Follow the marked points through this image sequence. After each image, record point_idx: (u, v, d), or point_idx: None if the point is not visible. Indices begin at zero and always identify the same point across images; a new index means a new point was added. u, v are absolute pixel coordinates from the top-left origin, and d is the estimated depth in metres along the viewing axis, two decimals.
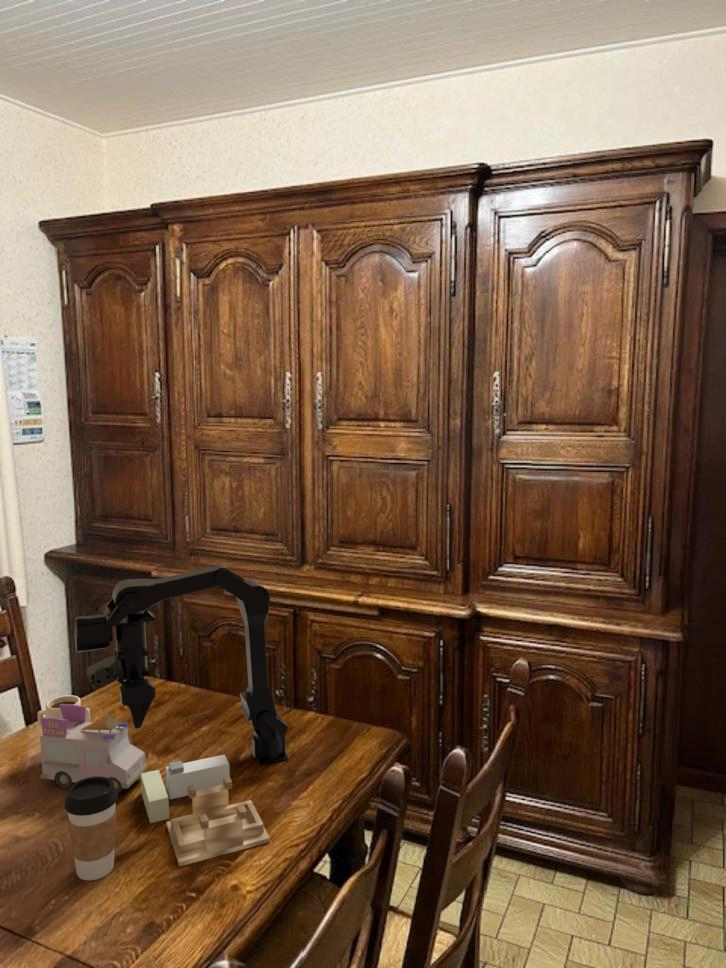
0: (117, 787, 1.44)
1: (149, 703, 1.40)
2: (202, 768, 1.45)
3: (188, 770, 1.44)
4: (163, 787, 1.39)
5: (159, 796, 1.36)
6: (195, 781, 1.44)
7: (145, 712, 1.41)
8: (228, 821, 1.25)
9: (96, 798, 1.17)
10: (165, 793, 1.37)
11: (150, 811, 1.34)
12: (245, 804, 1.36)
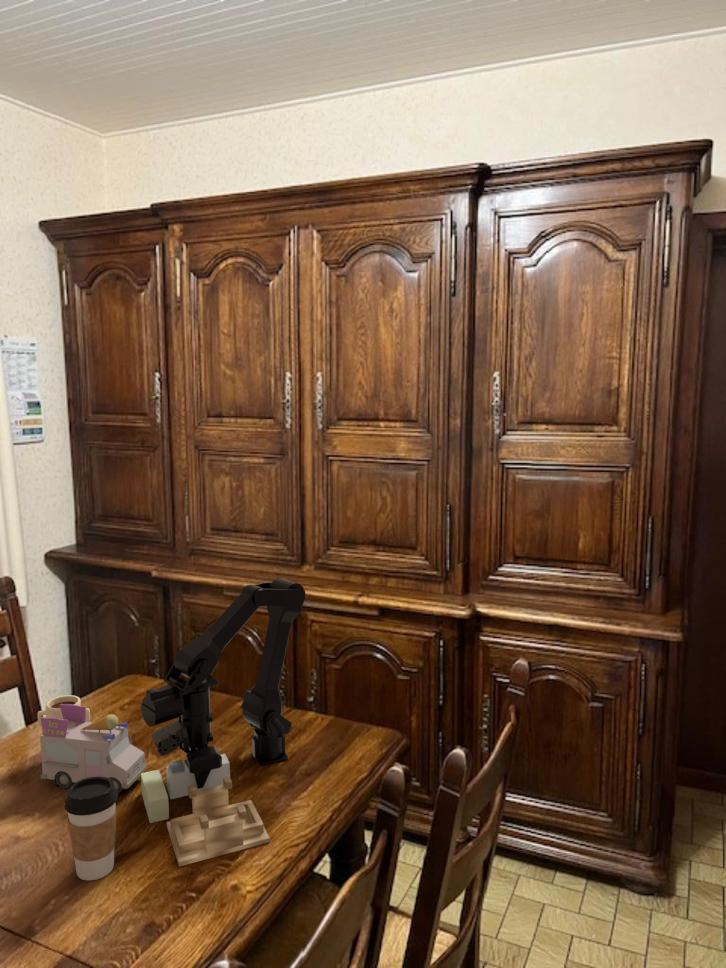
0: (117, 787, 1.44)
1: None
2: None
3: (188, 769, 1.44)
4: (163, 787, 1.39)
5: (159, 796, 1.36)
6: (195, 780, 1.44)
7: (208, 773, 1.44)
8: (228, 821, 1.25)
9: (96, 798, 1.17)
10: (165, 793, 1.37)
11: (150, 811, 1.34)
12: (245, 804, 1.36)
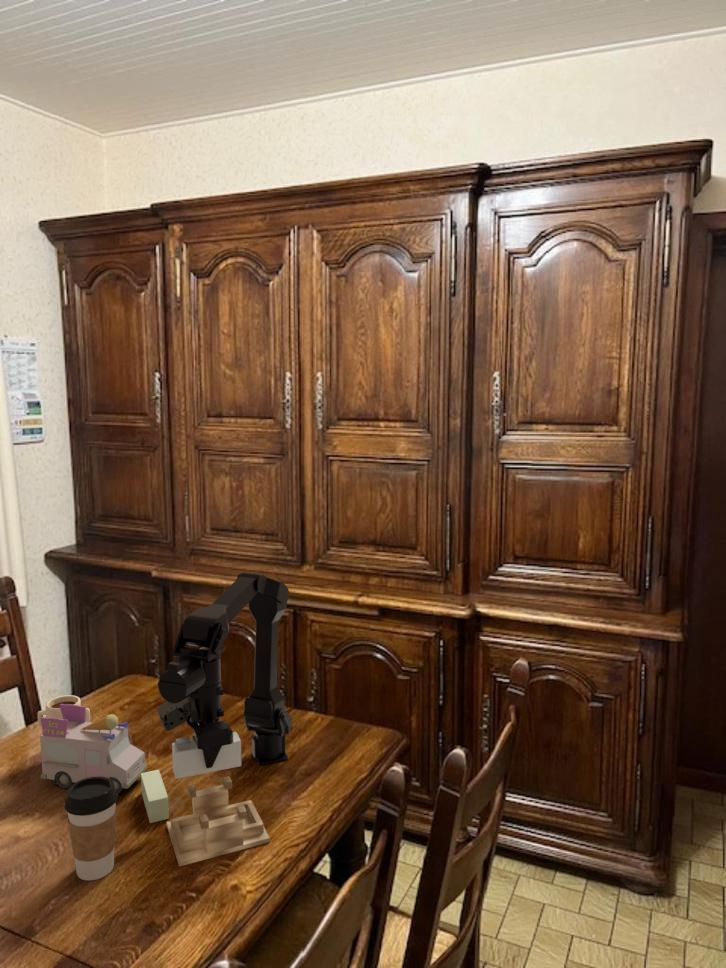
0: (117, 787, 1.44)
1: None
2: None
3: (196, 746, 1.32)
4: (163, 787, 1.39)
5: (159, 796, 1.36)
6: (203, 759, 1.32)
7: (217, 751, 1.31)
8: (228, 821, 1.25)
9: (96, 798, 1.16)
10: (165, 793, 1.37)
11: (150, 811, 1.34)
12: (245, 804, 1.36)
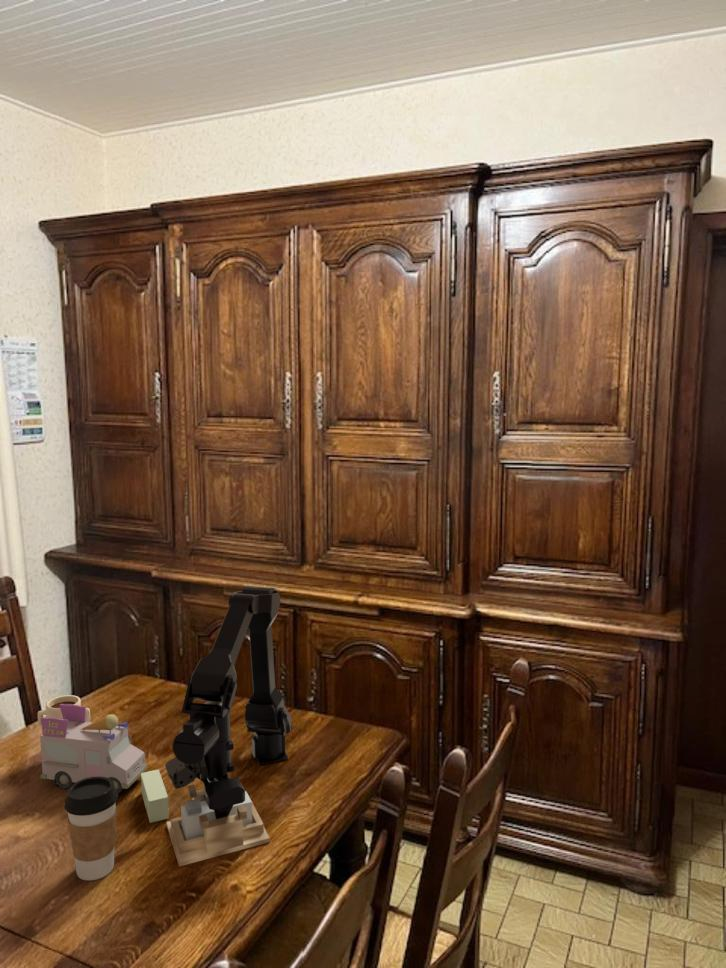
0: (117, 787, 1.44)
1: None
2: None
3: (206, 810, 1.29)
4: (163, 787, 1.39)
5: (159, 796, 1.36)
6: None
7: (229, 809, 1.27)
8: (228, 821, 1.25)
9: (96, 798, 1.16)
10: (165, 793, 1.37)
11: (150, 811, 1.34)
12: None
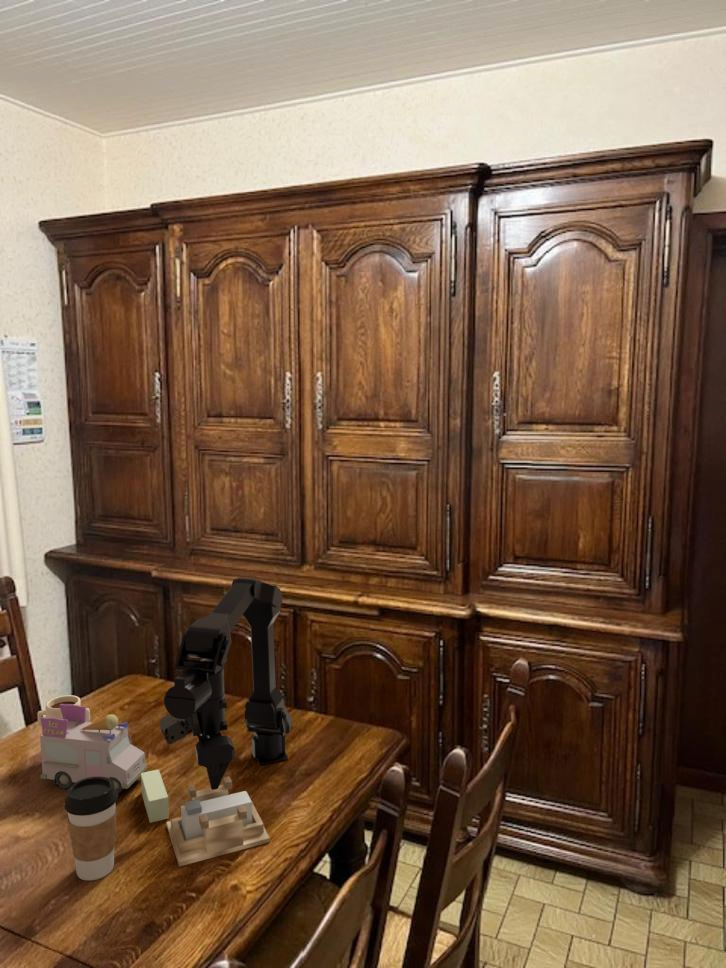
0: (117, 787, 1.44)
1: (227, 763, 1.24)
2: (222, 807, 1.29)
3: (206, 810, 1.29)
4: (163, 787, 1.39)
5: (159, 795, 1.36)
6: None
7: (223, 773, 1.25)
8: (228, 821, 1.25)
9: (96, 798, 1.16)
10: (165, 793, 1.37)
11: (150, 811, 1.34)
12: None
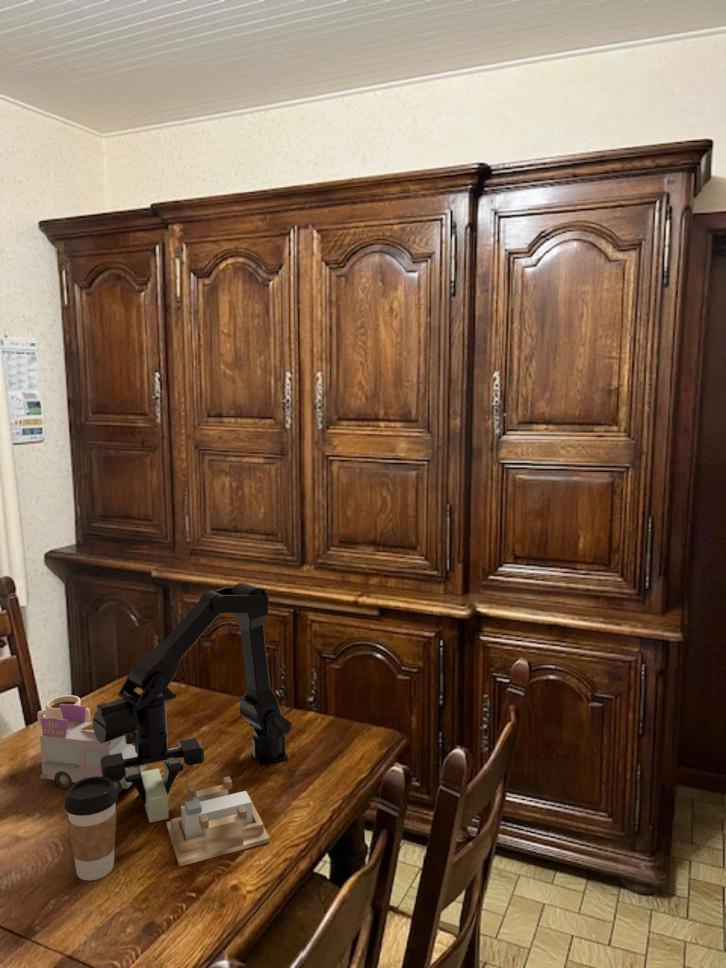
0: (117, 787, 1.44)
1: None
2: (222, 807, 1.29)
3: (206, 810, 1.29)
4: (163, 786, 1.39)
5: (159, 794, 1.36)
6: None
7: (139, 792, 1.37)
8: (228, 821, 1.25)
9: (96, 798, 1.17)
10: (164, 792, 1.37)
11: (149, 810, 1.34)
12: None
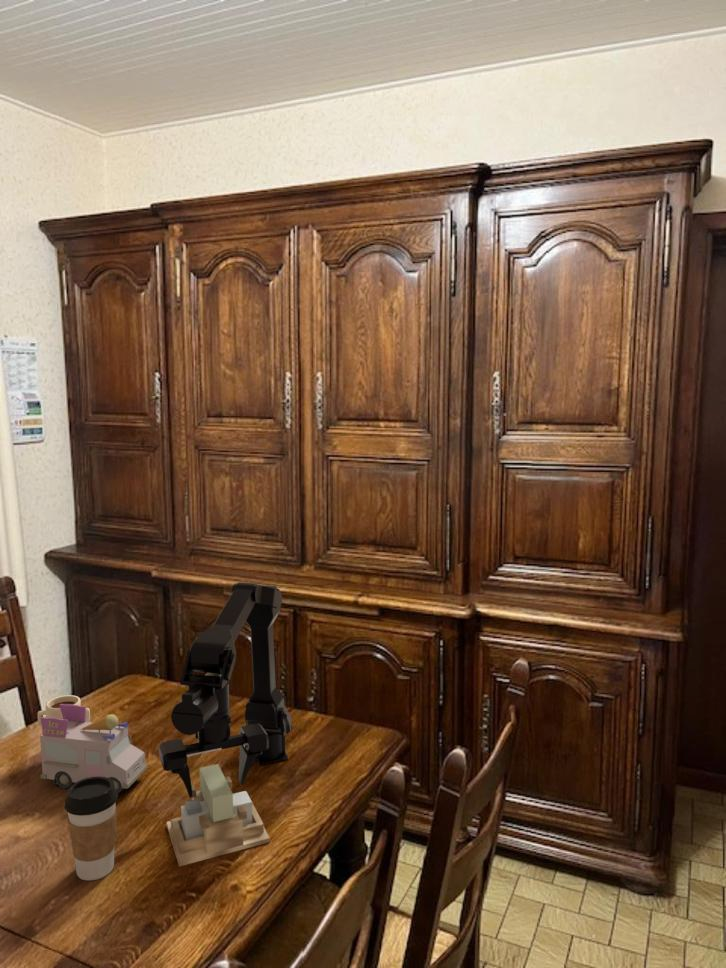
0: (117, 787, 1.44)
1: None
2: None
3: (206, 810, 1.29)
4: (225, 782, 1.29)
5: (223, 792, 1.26)
6: None
7: (185, 784, 1.26)
8: (228, 821, 1.25)
9: (96, 798, 1.17)
10: (228, 789, 1.27)
11: (213, 808, 1.25)
12: None
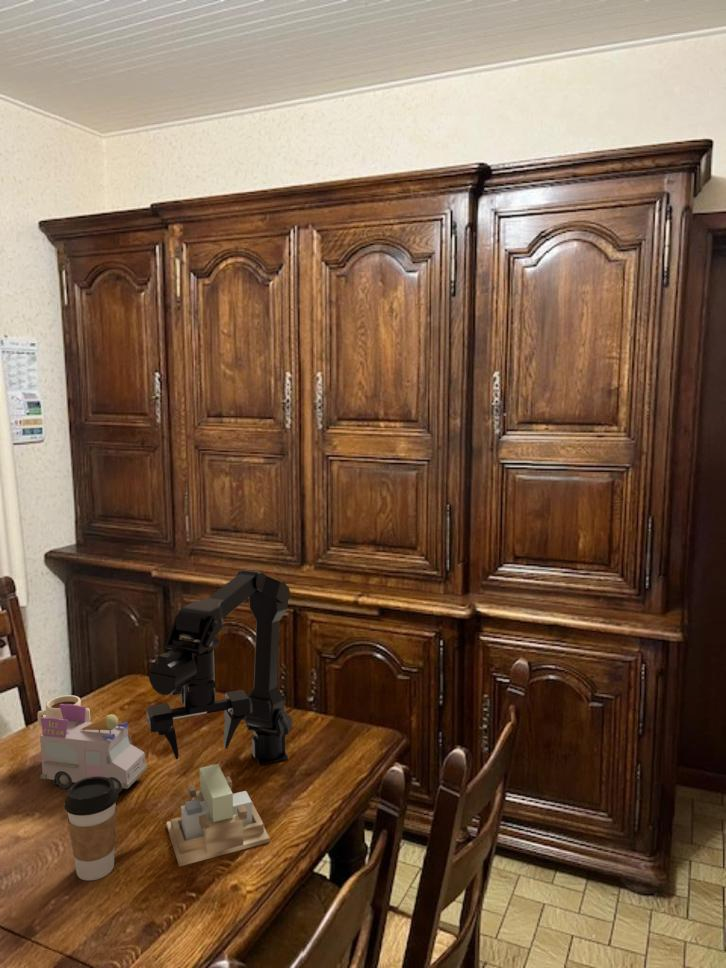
0: (117, 787, 1.44)
1: None
2: None
3: (206, 810, 1.29)
4: (225, 782, 1.29)
5: (223, 792, 1.26)
6: None
7: (172, 746, 1.31)
8: (228, 821, 1.25)
9: (96, 798, 1.17)
10: (228, 789, 1.27)
11: (213, 808, 1.25)
12: None
